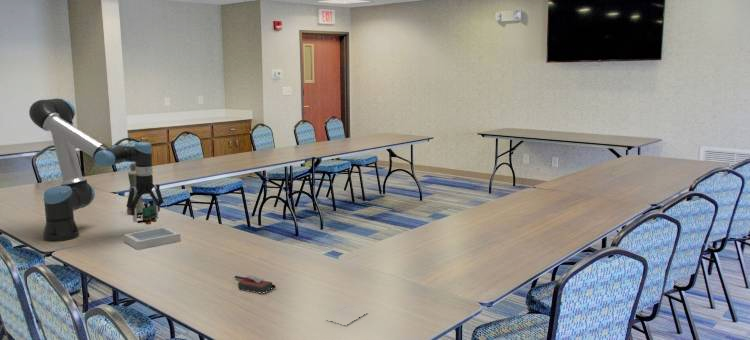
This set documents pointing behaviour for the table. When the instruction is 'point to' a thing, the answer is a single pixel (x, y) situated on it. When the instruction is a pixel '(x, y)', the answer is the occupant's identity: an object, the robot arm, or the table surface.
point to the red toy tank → (254, 284)
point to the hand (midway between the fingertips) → (145, 219)
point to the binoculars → (148, 213)
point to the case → (151, 237)
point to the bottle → (132, 181)
